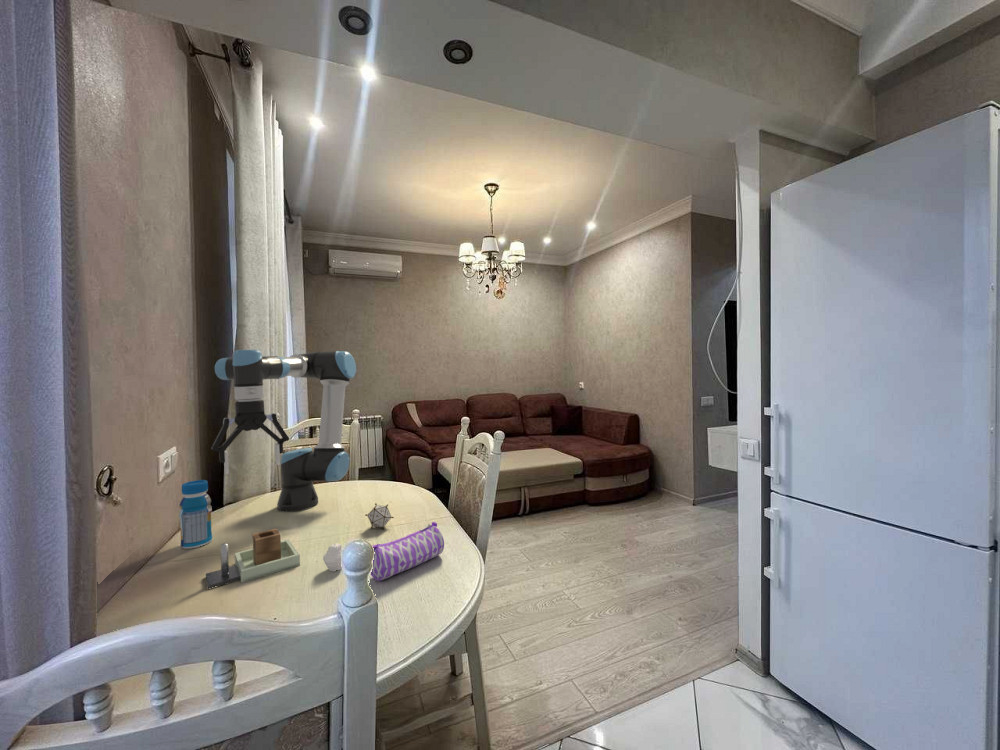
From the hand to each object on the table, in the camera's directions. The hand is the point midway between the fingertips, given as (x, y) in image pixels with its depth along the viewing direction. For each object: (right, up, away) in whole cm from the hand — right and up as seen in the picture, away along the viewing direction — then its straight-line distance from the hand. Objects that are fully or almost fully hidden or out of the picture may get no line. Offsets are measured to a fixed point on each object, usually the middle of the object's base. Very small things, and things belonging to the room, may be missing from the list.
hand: (253, 468), depth 123 cm
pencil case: (+51, -25, -12) cm, 58 cm away
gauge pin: (+3, -26, -16) cm, 30 cm away
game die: (+34, -25, +16) cm, 45 cm away
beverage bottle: (-22, -26, +6) cm, 35 cm away
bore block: (+10, -25, -9) cm, 28 cm away
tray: (+10, -25, -9) cm, 29 cm away
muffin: (+31, -25, -13) cm, 42 cm away
